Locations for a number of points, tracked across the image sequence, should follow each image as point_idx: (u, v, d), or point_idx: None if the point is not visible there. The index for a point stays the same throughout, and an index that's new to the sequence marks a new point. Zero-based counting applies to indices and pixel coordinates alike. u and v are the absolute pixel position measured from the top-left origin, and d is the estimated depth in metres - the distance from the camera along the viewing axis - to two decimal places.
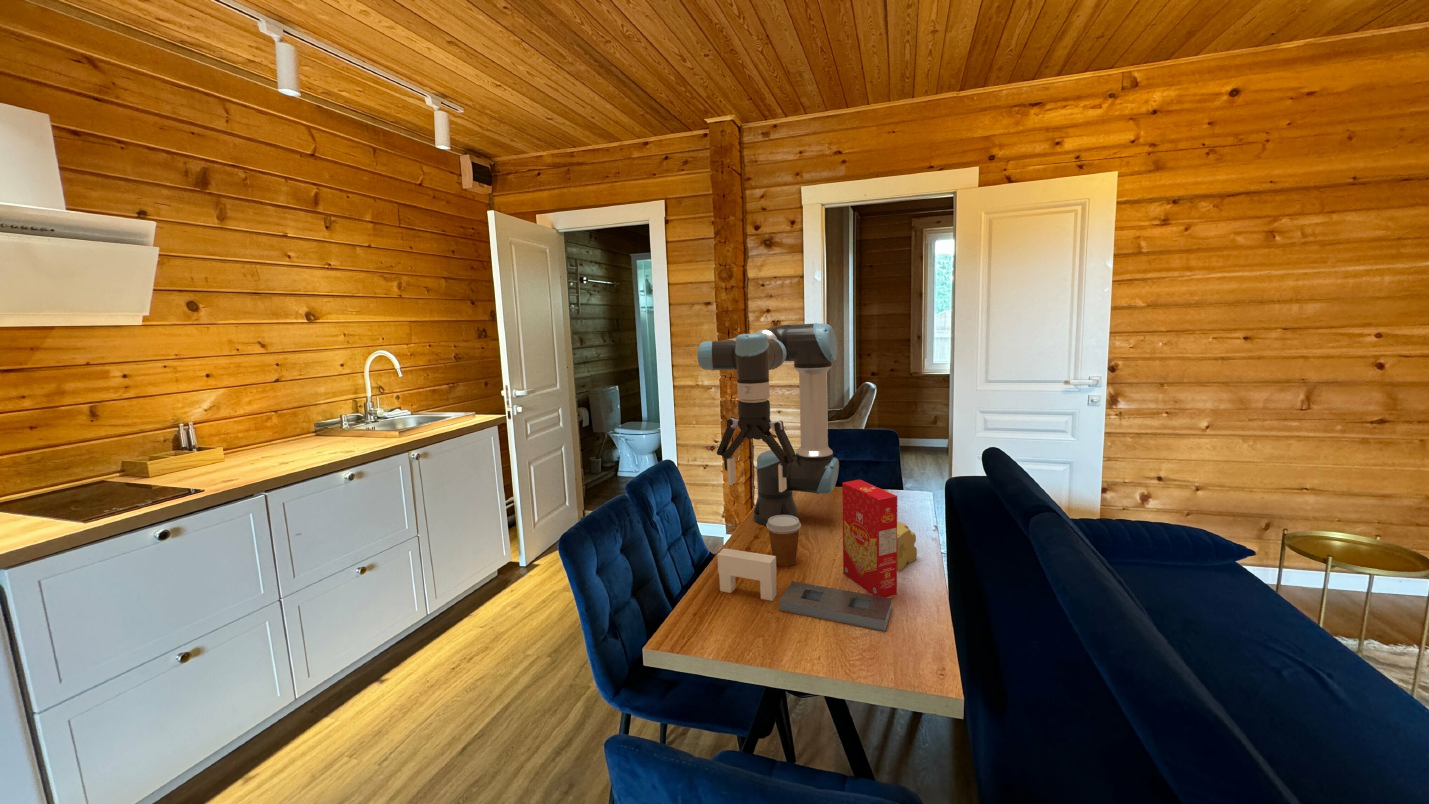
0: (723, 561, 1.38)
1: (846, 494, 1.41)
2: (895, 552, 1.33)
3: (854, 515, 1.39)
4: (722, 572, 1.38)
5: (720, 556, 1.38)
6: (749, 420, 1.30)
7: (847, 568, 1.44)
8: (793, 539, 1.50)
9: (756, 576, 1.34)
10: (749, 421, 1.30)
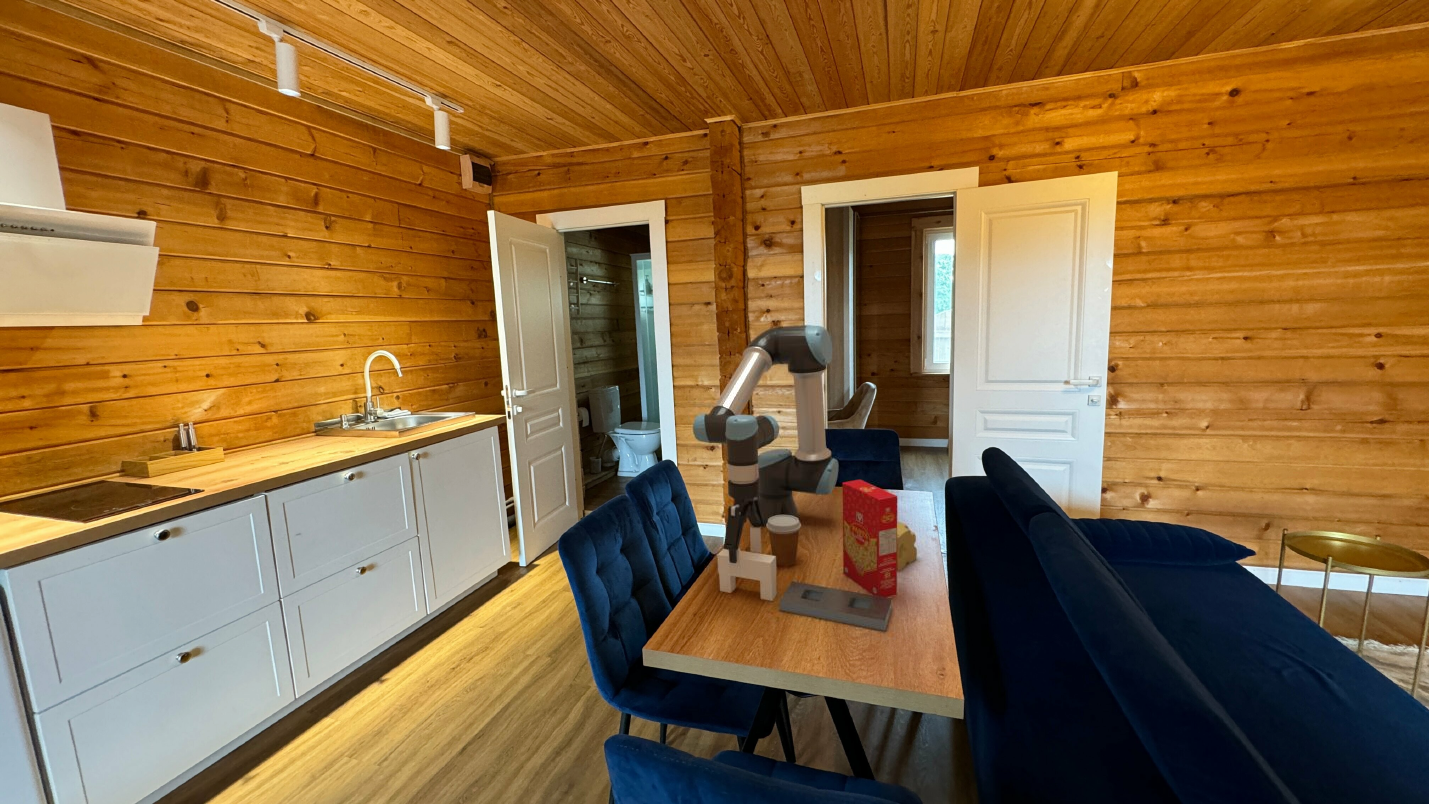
0: (723, 561, 1.38)
1: (846, 494, 1.41)
2: (895, 552, 1.33)
3: (854, 515, 1.39)
4: (722, 572, 1.38)
5: (720, 556, 1.38)
6: None
7: (847, 568, 1.44)
8: (793, 539, 1.50)
9: (756, 576, 1.34)
10: None
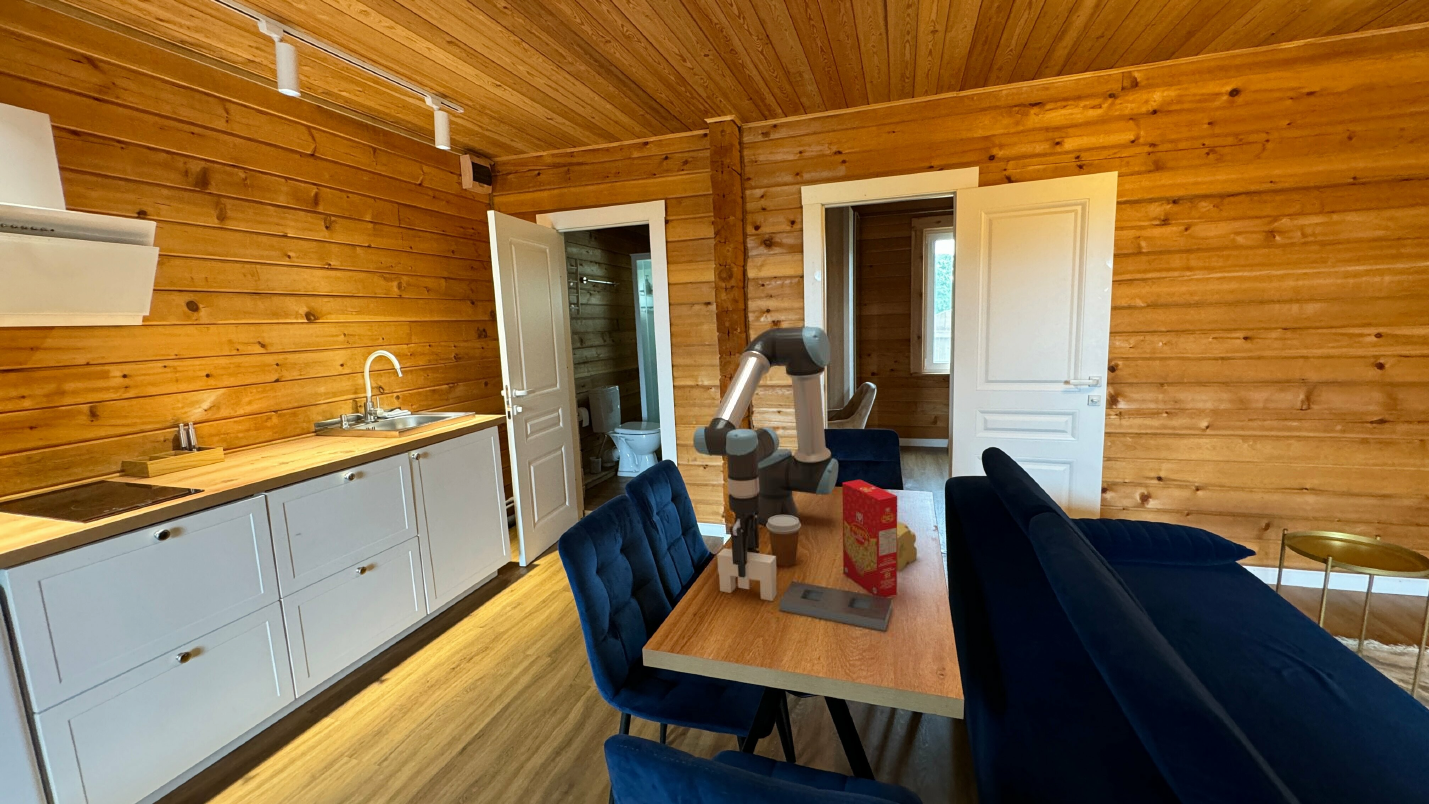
0: (723, 561, 1.38)
1: (846, 494, 1.41)
2: (895, 552, 1.33)
3: (854, 515, 1.39)
4: (722, 572, 1.38)
5: (720, 556, 1.38)
6: None
7: (847, 568, 1.44)
8: (793, 539, 1.50)
9: (756, 576, 1.34)
10: None
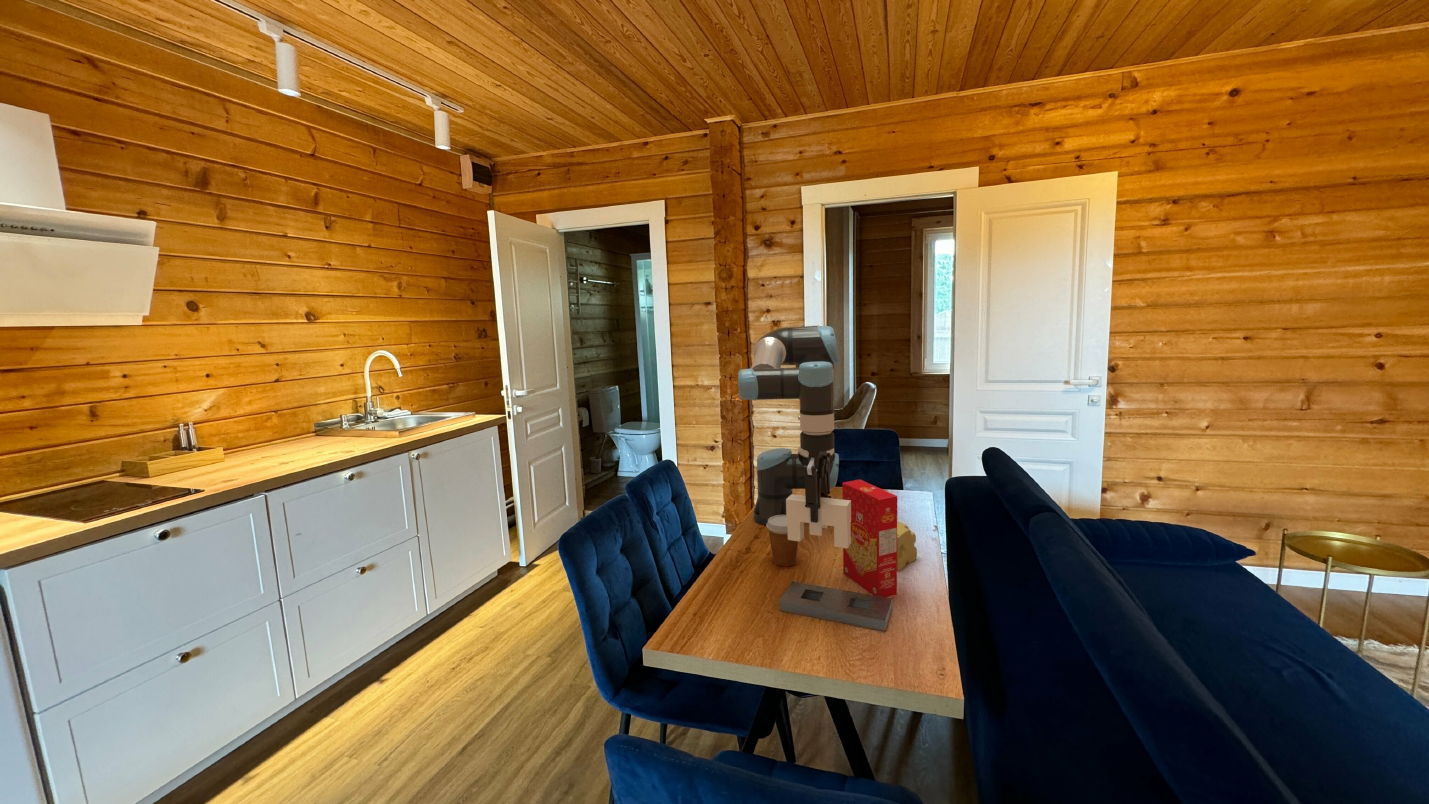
0: (793, 506, 1.27)
1: (846, 494, 1.41)
2: (895, 552, 1.33)
3: (854, 515, 1.39)
4: (791, 518, 1.28)
5: (789, 500, 1.27)
6: None
7: (847, 568, 1.44)
8: None
9: (830, 521, 1.24)
10: None
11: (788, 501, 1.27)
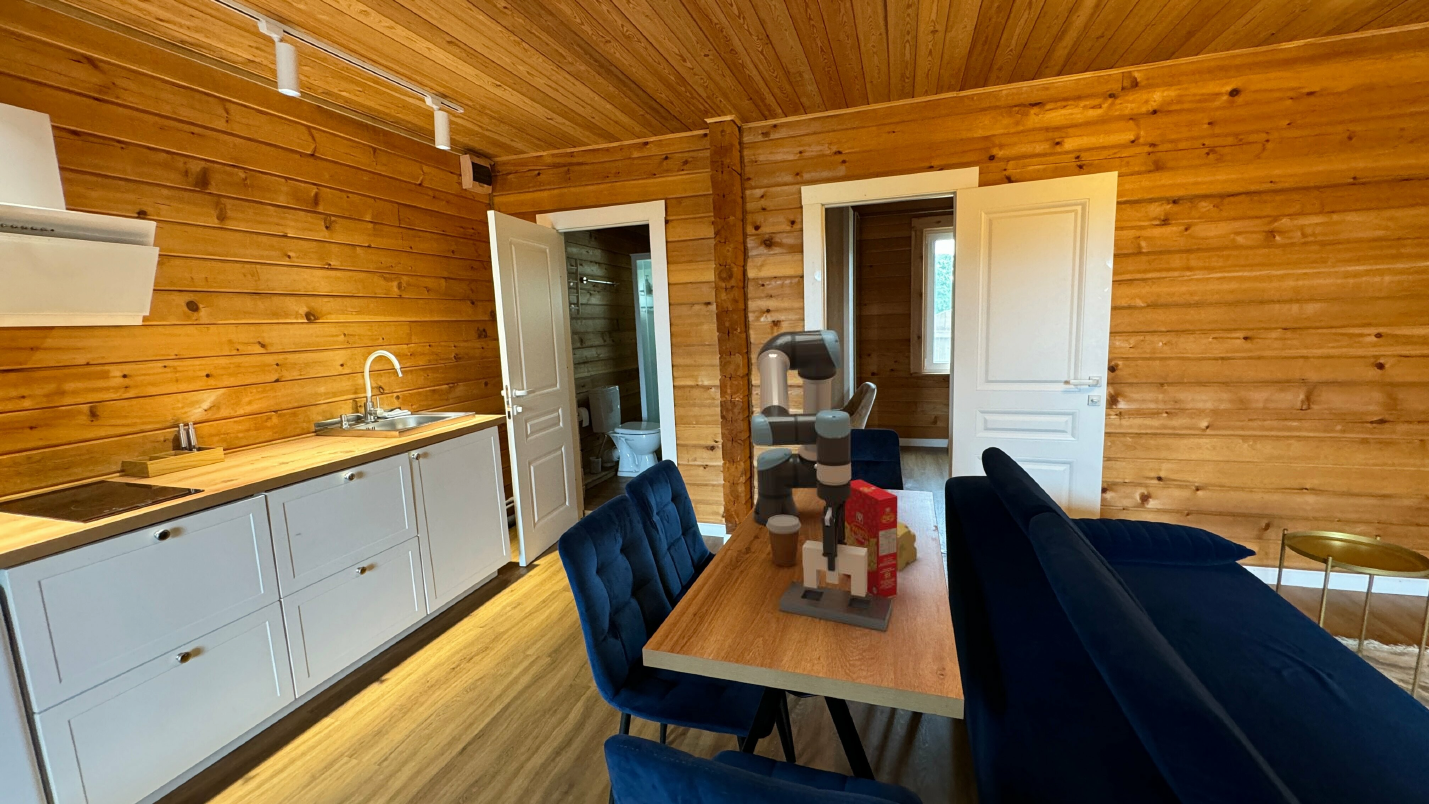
0: (809, 553, 1.27)
1: None
2: (895, 552, 1.33)
3: (854, 515, 1.39)
4: (807, 566, 1.28)
5: (805, 548, 1.28)
6: None
7: None
8: (793, 539, 1.50)
9: (847, 570, 1.24)
10: None
11: (804, 548, 1.28)
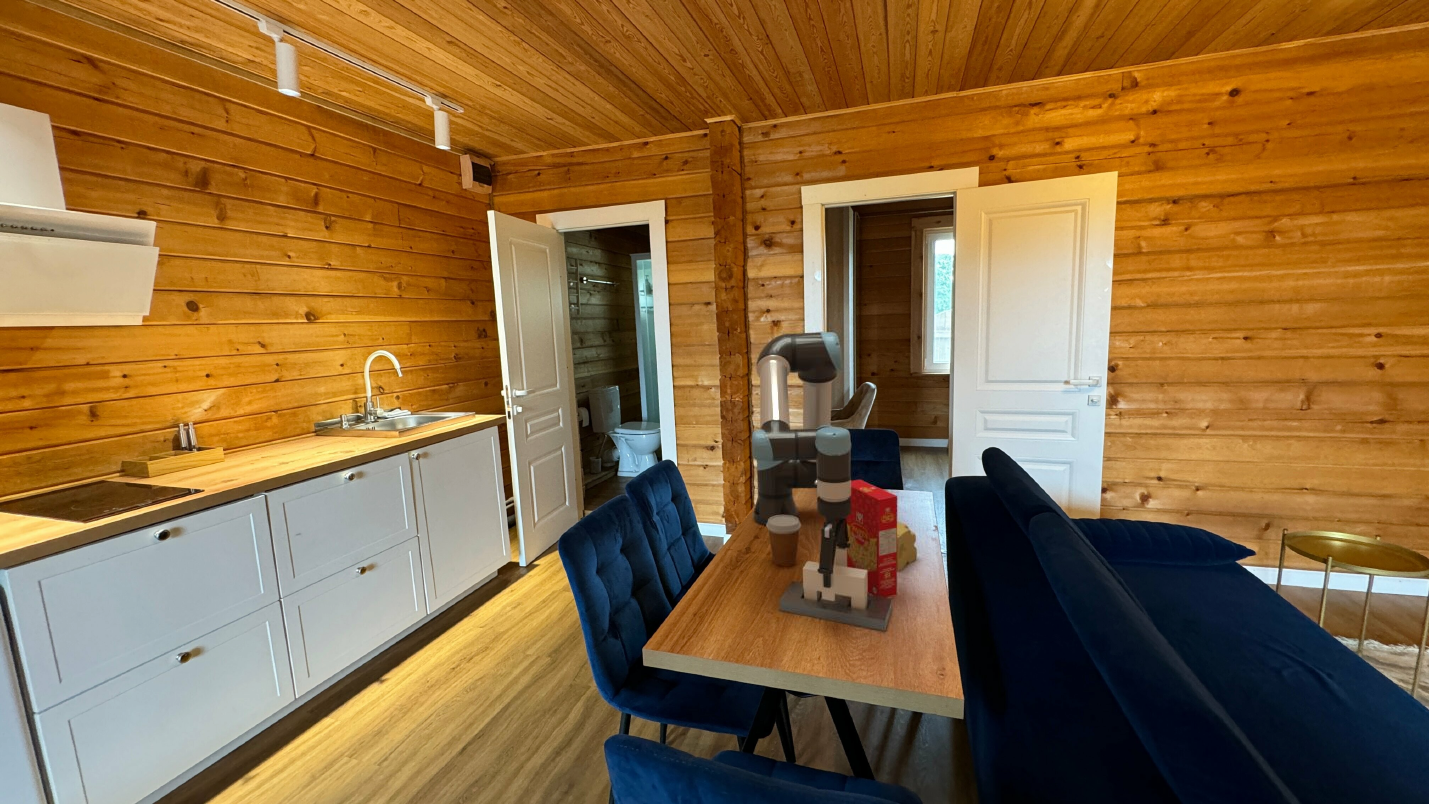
0: (810, 575, 1.28)
1: None
2: (895, 552, 1.33)
3: (854, 515, 1.39)
4: (808, 587, 1.29)
5: (805, 570, 1.28)
6: None
7: None
8: (793, 539, 1.50)
9: (847, 592, 1.25)
10: None
11: (805, 570, 1.29)
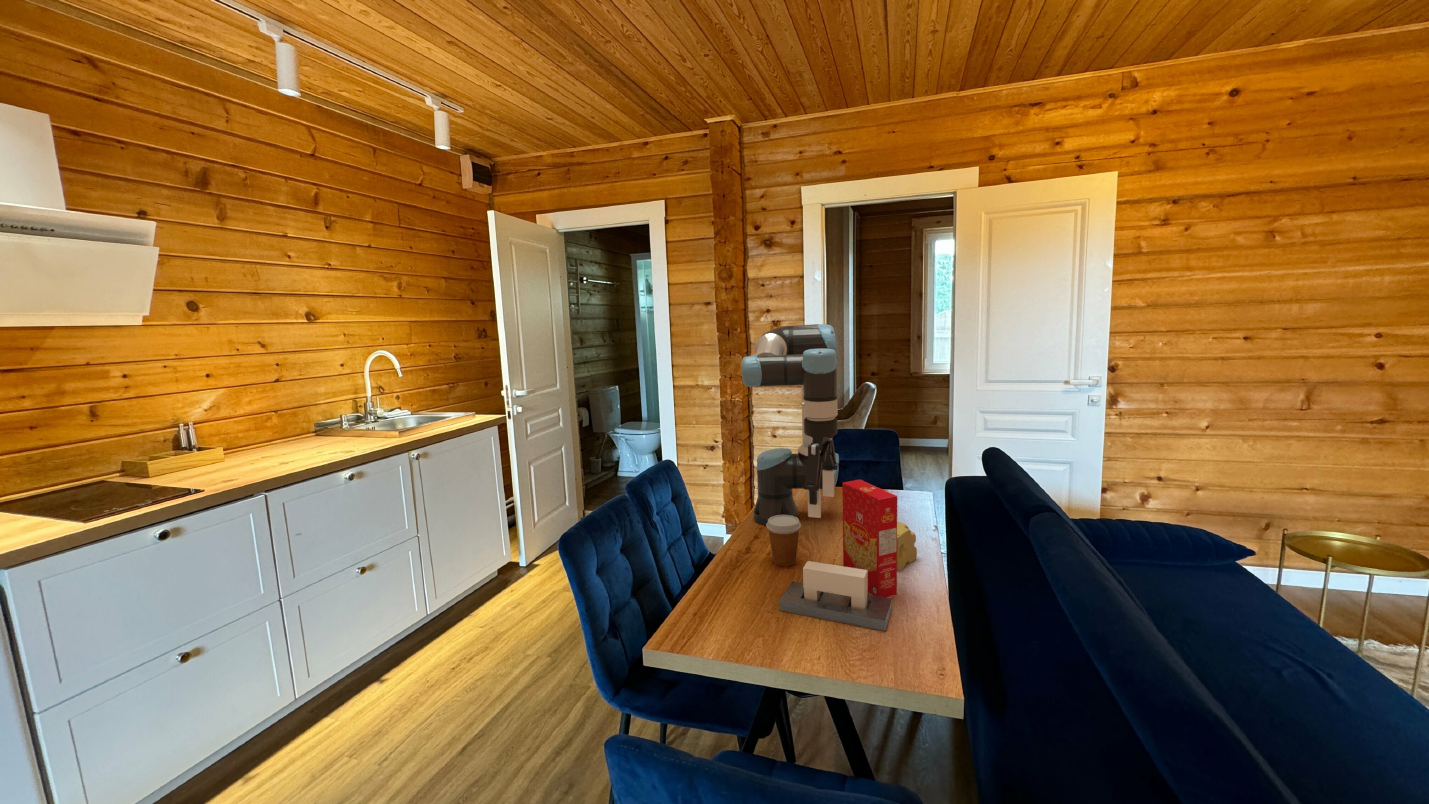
0: (810, 575, 1.28)
1: (846, 494, 1.41)
2: (895, 552, 1.33)
3: (854, 515, 1.39)
4: (808, 587, 1.29)
5: (806, 569, 1.29)
6: None
7: None
8: (793, 539, 1.50)
9: (847, 592, 1.25)
10: None
11: (805, 570, 1.29)
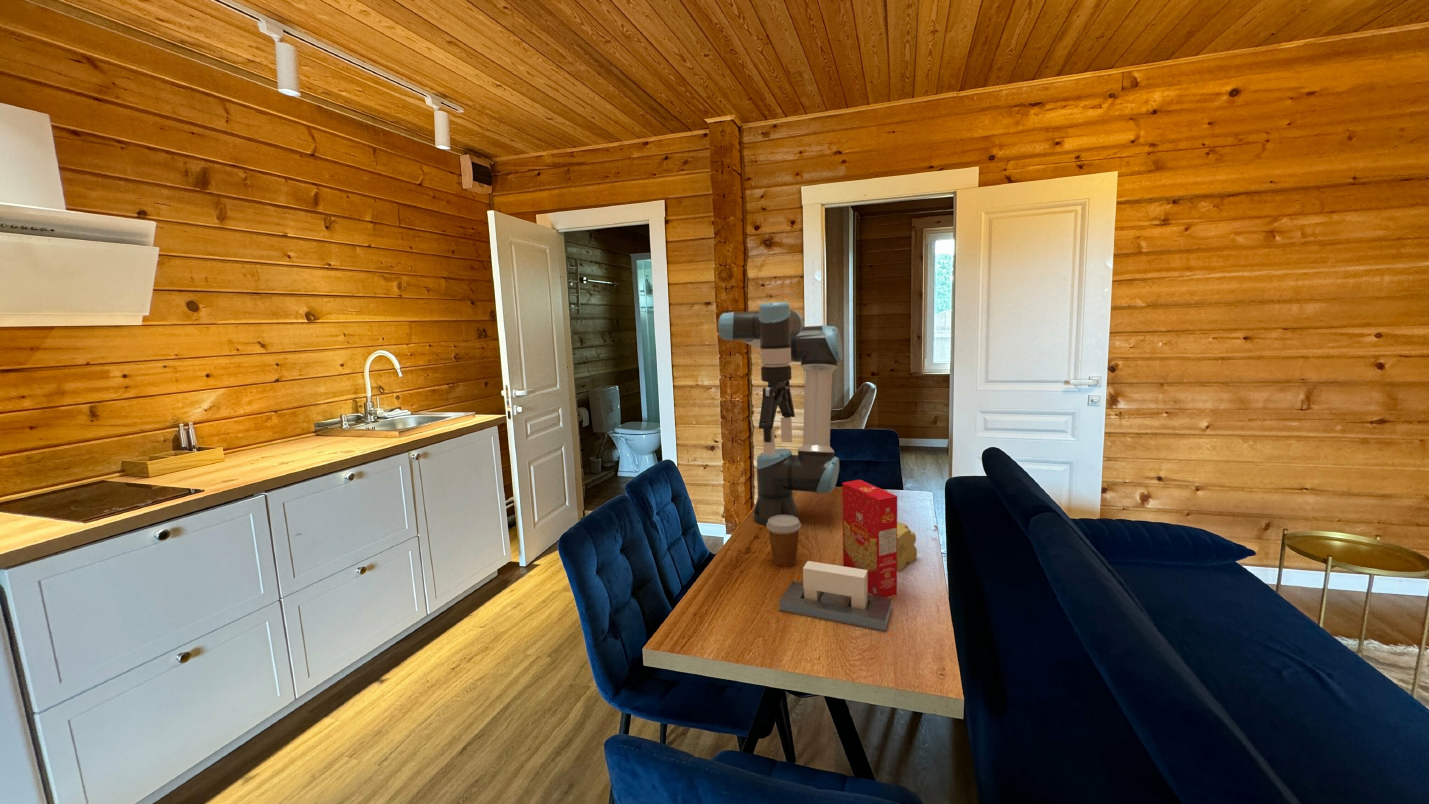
0: (810, 575, 1.28)
1: (846, 494, 1.41)
2: (895, 552, 1.33)
3: (854, 515, 1.39)
4: (808, 587, 1.29)
5: (806, 569, 1.29)
6: None
7: None
8: (793, 539, 1.50)
9: (847, 592, 1.25)
10: None
11: (805, 570, 1.29)
